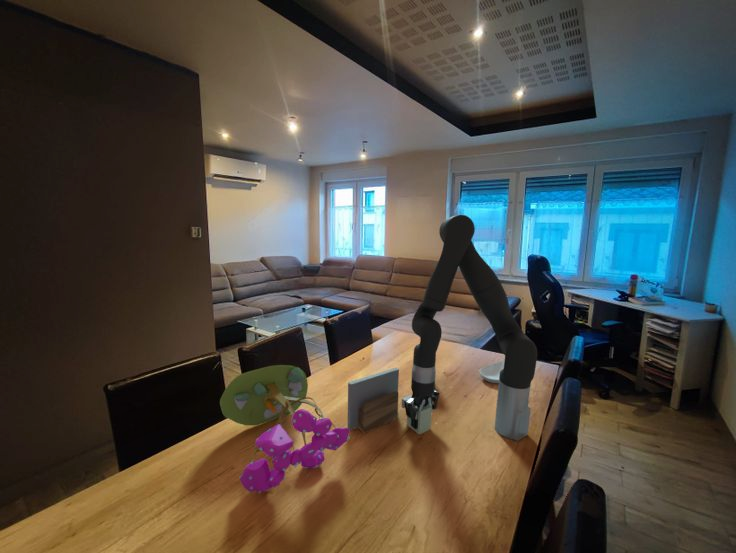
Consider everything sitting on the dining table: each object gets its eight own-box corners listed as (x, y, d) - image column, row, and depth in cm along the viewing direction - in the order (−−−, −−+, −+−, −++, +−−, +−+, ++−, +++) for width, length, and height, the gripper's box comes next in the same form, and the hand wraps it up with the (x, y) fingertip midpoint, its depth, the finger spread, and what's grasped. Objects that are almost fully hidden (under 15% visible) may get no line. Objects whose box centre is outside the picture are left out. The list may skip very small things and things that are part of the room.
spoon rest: (496, 390, 132) (498, 373, 131) (473, 378, 142) (474, 363, 141) (527, 375, 146) (529, 361, 144) (504, 366, 155) (505, 352, 154)
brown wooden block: (397, 418, 111) (398, 392, 109) (364, 433, 103) (364, 405, 101) (390, 413, 114) (391, 388, 112) (357, 427, 106) (358, 399, 104)
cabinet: (430, 429, 105) (431, 406, 104) (419, 434, 103) (420, 411, 101) (411, 415, 113) (412, 394, 112) (400, 420, 110) (401, 398, 109)
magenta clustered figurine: (303, 333, 105) (349, 398, 76) (319, 398, 117) (365, 476, 88) (205, 372, 93) (217, 466, 64) (235, 440, 105) (256, 546, 76)
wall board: (397, 410, 115) (398, 369, 113) (350, 430, 104) (350, 384, 101) (394, 408, 117) (395, 367, 114) (347, 427, 105) (348, 382, 103)
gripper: (415, 387, 96) (412, 439, 98) (447, 375, 104) (444, 423, 107) (398, 377, 102) (396, 426, 104) (430, 367, 110) (428, 412, 113)
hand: (420, 424), depth 105 cm, fingers closed on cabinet, 5 cm apart
